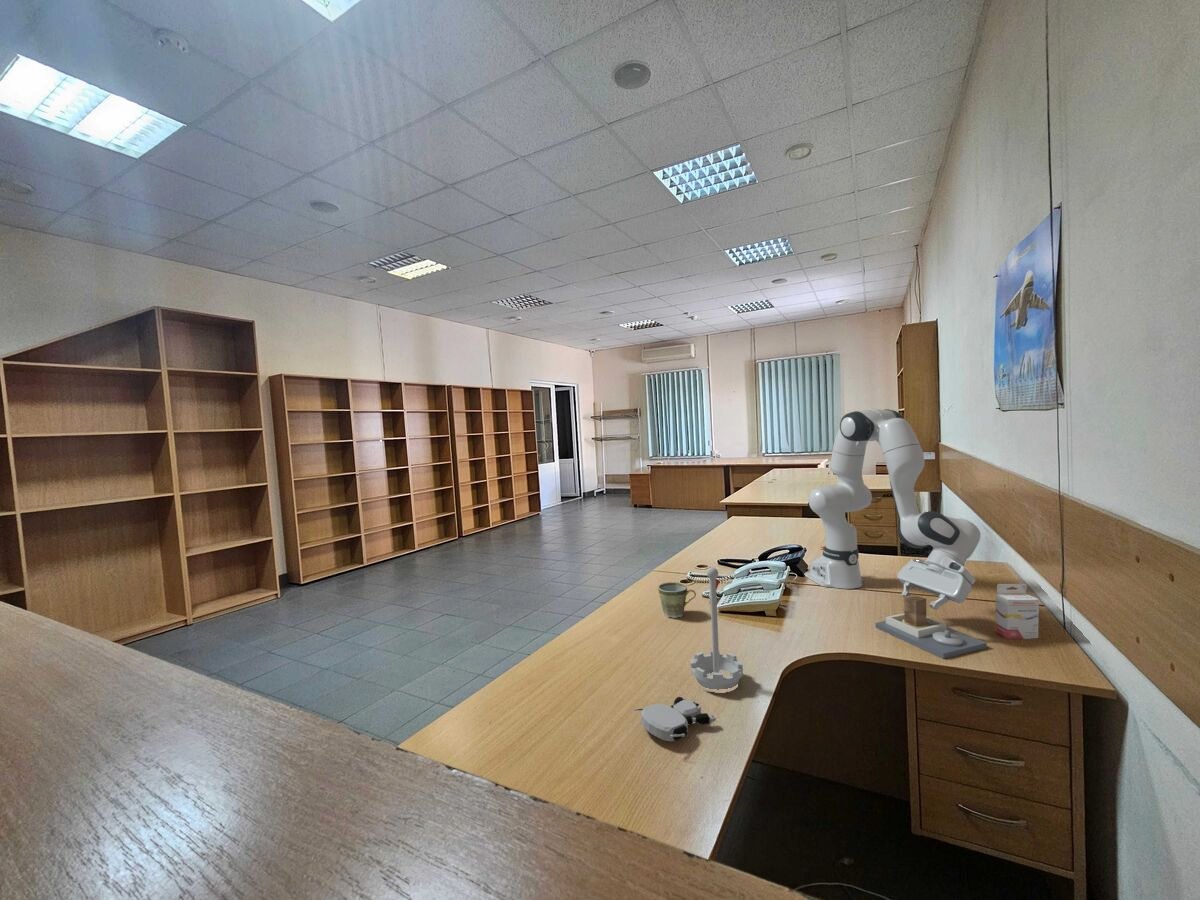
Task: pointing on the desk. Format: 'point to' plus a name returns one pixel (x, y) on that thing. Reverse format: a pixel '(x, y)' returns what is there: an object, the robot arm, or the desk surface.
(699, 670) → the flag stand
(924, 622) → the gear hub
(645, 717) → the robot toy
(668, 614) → the ceramic cup
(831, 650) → the desk surface
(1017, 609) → the ink cartridge box
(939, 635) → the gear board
